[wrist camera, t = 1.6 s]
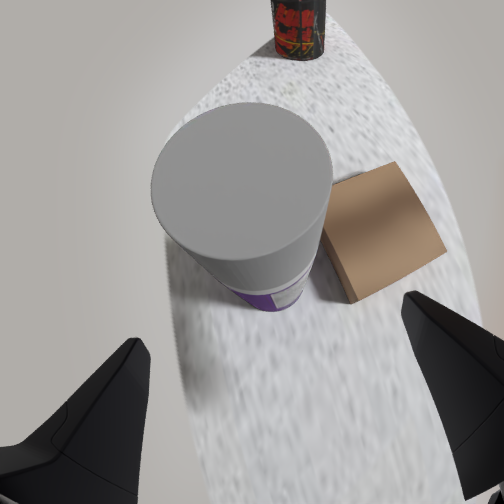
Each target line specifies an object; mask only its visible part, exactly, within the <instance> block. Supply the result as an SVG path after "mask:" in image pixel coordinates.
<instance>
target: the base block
mask: <svg viewBox="0 0 504 504" xmlns="http://www.w3.org/2000/svg"><path fill="white" fill-rule="evenodd" d="M320 240H321V242H322V244H323V246H324V248H325V250H326V253H327V255H328V257H329V259H330V261H331V263H332V265H333V267H334V269H335V271H336V273H337V276H338V278H339V280H340V282H341V284H342V286H343V288H344V291H345V293H346V295H347V297H348V299H349V302H350V304H353V303H355V302H358V301H360V300H362V299H364V298H366V297H368V296H370V295H371V294H373V293H375V292H377V291H379V290H381V289H383V288H385V287H387V286H388V285H390V284H392V283H394V282H396V281H398V280H399V279H401V278H403V277H405V276H407V275H408V274H410V273H412V272H414V271H415V270H417V269H419V268H421V267H422V266H424V265H426V264H427V263H429V262H431V261H432V260H434V259H436V258H437V257H439V256H441V255H442V254H444V253H446V252H447V250H446V248H445V246H444V244H443V242H442V240H441V238H440V236H439V234H438V232H437V230H436V228H435V226H434V224H433V223H432V221H431V219H430V217H429V215H428V213H427V212H426V210H425V208H424V206H423V205H422V203H421V201H420V200H419V198H418V196H417V195H416V193H415V191H414V190H413V188H412V186H411V185H410V183H409V182H408V180H407V178H406V177H405V175H404V174H403V172H402V171H401V169H400V168H399V166H398V165H397V163H396V162H392V163H389V164H386V165H384V166H381V167H379V168H376V169H373V170H371V171H368V172H365V173H363V174H360V175H358V176H355V177H352V178H350V179H347V180H345V181H342V182H340V183H337V184H335V185H332V189H331V193H330V198H329V203H328V207H327V211H326V216H325V220H324V224H323V229H322V233H321V237H320Z"/></svg>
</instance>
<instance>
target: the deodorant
mask: <svg viewBox="0 0 504 504" xmlns="http://www.w3.org/2000/svg"><path fill="white" fill-rule="evenodd" d="M271 8H272V17H273V27H274V37H275V48H276V51H277V53H278V54H279V55H281V56H282V57H285V58H287V59H291V60H298V61H307V60H313V59H316V58H318V57H320V56H321V55H322V54H323V53H324V39H325V16H326V0H271Z"/></svg>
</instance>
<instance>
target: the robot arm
mask: <svg viewBox="0 0 504 504" xmlns="http://www.w3.org/2000/svg"><path fill="white" fill-rule="evenodd" d="M401 316H402V319H403V322H404V325H405V328H406V331H407V334H408V337H409V340H410V343H411V346H412V349H413V352H414V355H415V357H416V359H417V362H418V364H419V366H420V368H421V371H422V373H423V375H424V378H425V380H426V383H427V385H428V387H429V390H430V392H431V395H432V397H433V400H434V403H435V405H436V408H437V410H438V413H439V416H440V419H441V421H442V424H443V427H444V430H445V433H446V436H447V439H448V442H449V445H450V448H451V451H452V455H453V458H454V461H455V465H456V468H457V472H458V476H459V479H460V483H461V487H462V491H463V495H464V499H465V501H466V500H469V499H471V498H473V497H475V496H477V495H479V494H481V493H483V492H485V491H487V490H489V489H490V488H492V487H494V486H496V485H498V484H499V487H500V490H498V491H497V492H496V493H494V494H492V496H491V498H490V500H489V502H488V504H504V341H503V340H502V339H500V338H498V337H497V336H495V335H494V336H493V334H492V333H490V332H488V331H486V330H485V329H483V328H482V327H480V326H478V325H477V324H475V323H473V322H471V321H470V320H468V319H466V318H465V317H463V316H461V315H459V314H458V313H456V312H454V311H452V310H451V309H449V308H447V307H445V306H443V305H442V304H440V303H438V302H436V301H435V300H433V299H431V298H429V297H427V296H425V295H424V294H422V293H420V292H418V291H416V290H415V291H410V292H407V293H405V294H404V298H403V304H402V309H401ZM150 360H151V358H150V354H149V351H148V350H147V348H146V347H145V345H144V343H143V342H142V340H141V339H140V338H129V339H127V340H126V341H125V342H124V343H123V344H122V345H121V346H120V347H119V348H118V349H117V350H116V351H115V352H114V353H113V354H112V355H111V356H110V357H109V358H108V359H107V360H106V361H105V362H104V363H103V364H102V365H101V366H100V367H99V368H98V369H97V370H96V371H95V372H94V373H93V374H92V375H91V376H90V377H89V378H88V379H87V380H86V381H85V382H84V383H83V384H82V385H81V386H80V388H78V390H76V392H75V393H74V394H73V395H72V396H71V397H70V398H69V399H68V400H67V401H66V402H65V403H64V404H63V405H62V406H61V407H60V408H59V409H58V410H57V411H56V412H55V413H54V414H53V415H52V416H51V417H50V418H49V419H48V420H47V421H45V422H44V423H43V424H42V425H41V426H40V427H39V428H38V429H37V430H35V431H34V432H33V433H32V434H31V435H30V436H28V437H27V438H26V439H25V440H24V441H23V442H21V443H19V444H17V445H14V446H6V447H0V504H137V503H138V485H139V471H140V461H141V451H142V442H143V434H144V426H145V418H146V411H147V404H148V396H149V378H150Z"/></svg>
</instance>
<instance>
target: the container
mask: <svg viewBox="0 0 504 504" xmlns="http://www.w3.org/2000/svg"><path fill="white" fill-rule="evenodd" d="M332 182H333V167H332V161H331V157H330V154H329V151H328V149H327V146H326V144H325V142H324V141H323V139H322V138H321V136H320V135H319V134H318V132H317V131H316V130H315V129H314V128H313V127H312V126H311V125H310V124H309V123H308V122H307V121H305V120H304V119H303V118H301V117H300V116H298V115H296V114H294V113H293V112H291V111H288V110H286V109H284V108H281V107H278V106H274V105H270V104H264V103H236V104H229V105H225V106H221V107H218V108H215V109H212V110H210V111H207V112H205V113H203V114H201V115H199V116H197V117H196V118H194V119H192V120H191V121H189V122H188V123H186V124H185V125H184V126H183V127H182V128H180V129H179V130H178V131H177V132H176V133H175V134H174V135H173V136H172V137H171V139H170V140H169V141H168V142H167V143H166V145H165V147H164V148H163V150H162V151H161V153H160V155H159V157H158V159H157V161H156V164H155V167H154V170H153V174H152V180H151V199H152V205H153V208H154V212H155V214H156V217H157V219H158V220H159V223H160V224H161V226H162V227H163V229H164V230H165V231H166V233H167V234H168V235H169V236H170V237H171V238H172V239H173V240H174V241H175V242H176V243H178V244H179V245H180V246H181V247H182V248H183V249H184V250H185V251H186V252H187V253H188V254H190V255H191V256H192V257H193V258H194V259H195V260H196V261H197V262H198V263H199V264H201V265H202V266H203V267H204V268H205V269H206V270H207V271H208V272H209V273H211V274H212V275H213V276H214V277H215V278H216V279H217V280H218V281H219V282H220V283H222V284H223V285H224V286H226V287H227V288H229V289H230V290H231V291H233V292H234V293H236V294H237V295H238V296H240V297H241V298H243V299H244V300H245V301H247V302H248V303H250V304H251V305H253V306H254V307H256V308H258V309H260V310H263V311H268V312H277V311H281V310H284V309H286V308H288V307H290V306H291V305H293V304H294V303H295V302H296V301H297V300H298V298H299V297H300V295H301V293H302V291H303V288H304V286H305V283H306V281H307V278H308V275H309V273H310V270H311V267H312V264H313V262H314V259H315V256H316V253H317V249H318V245H319V241H320V237H321V233H322V229H323V224H324V220H325V216H326V211H327V207H328V203H329V198H330V193H331V189H332Z"/></svg>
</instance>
